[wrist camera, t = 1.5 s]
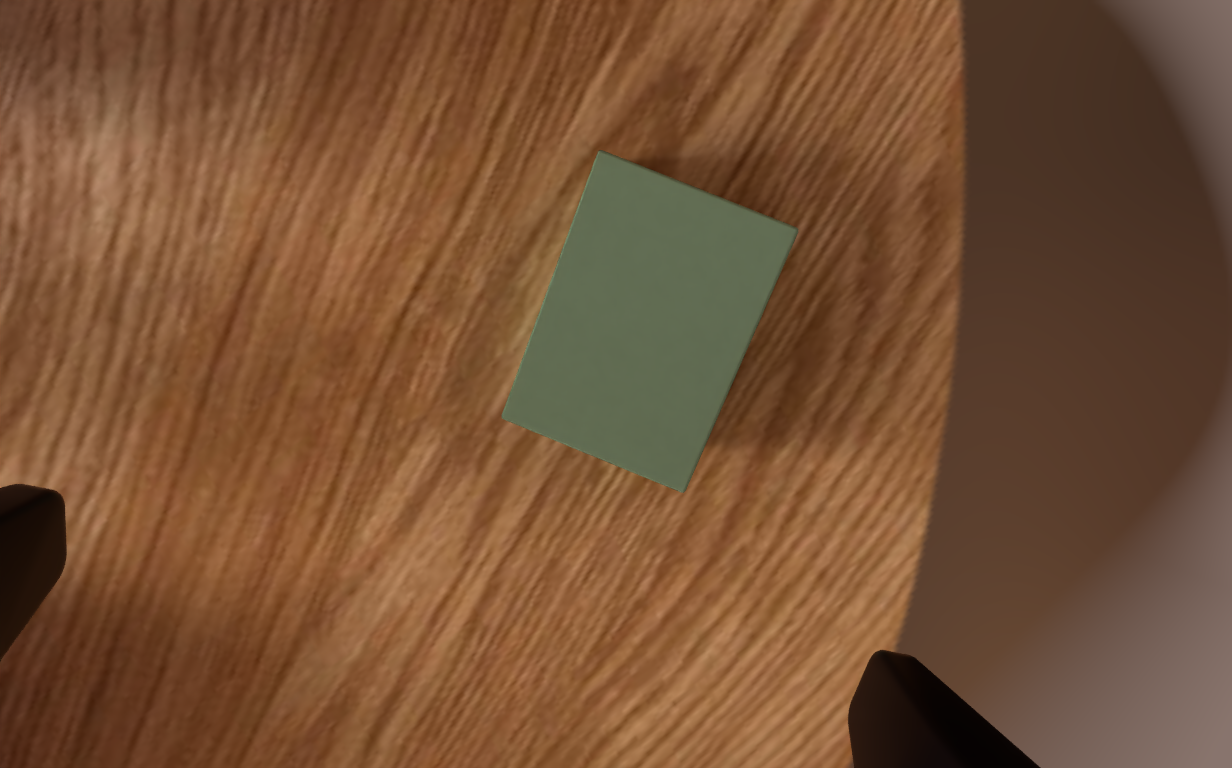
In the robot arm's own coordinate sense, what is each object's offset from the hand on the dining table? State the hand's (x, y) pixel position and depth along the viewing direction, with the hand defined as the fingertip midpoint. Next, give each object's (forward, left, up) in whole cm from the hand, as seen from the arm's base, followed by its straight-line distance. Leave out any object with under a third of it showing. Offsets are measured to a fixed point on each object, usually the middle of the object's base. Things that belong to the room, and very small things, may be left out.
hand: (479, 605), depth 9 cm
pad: (0, -2, -15) cm, 15 cm away
